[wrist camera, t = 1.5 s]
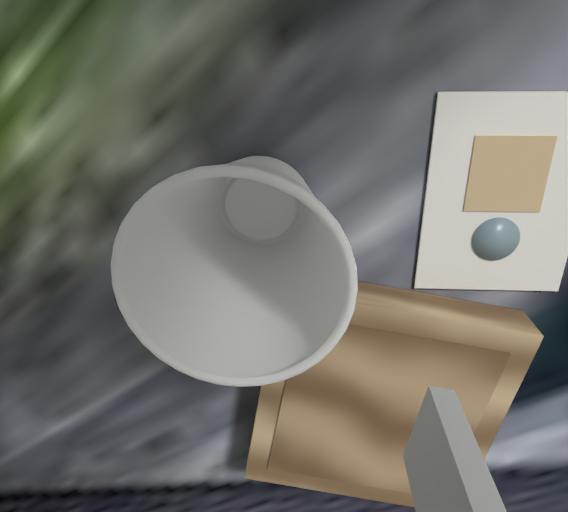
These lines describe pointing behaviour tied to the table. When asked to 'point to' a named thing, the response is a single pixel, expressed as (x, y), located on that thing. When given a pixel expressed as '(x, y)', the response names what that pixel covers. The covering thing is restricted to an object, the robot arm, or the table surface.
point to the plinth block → (388, 391)
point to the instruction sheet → (496, 192)
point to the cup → (235, 273)
